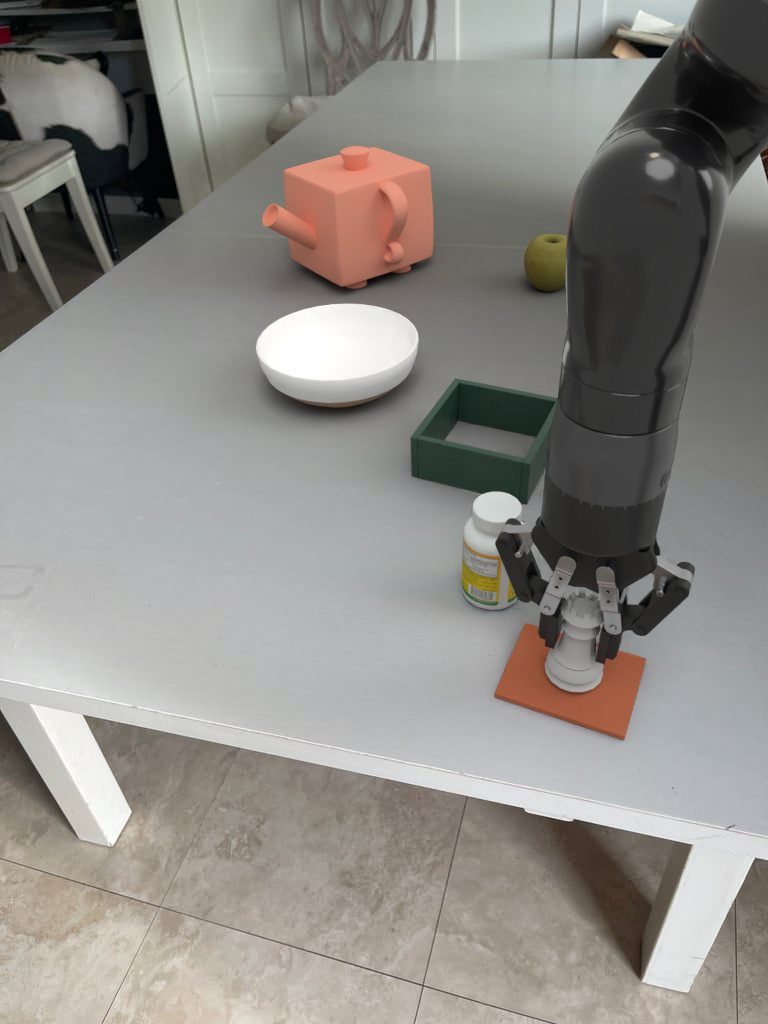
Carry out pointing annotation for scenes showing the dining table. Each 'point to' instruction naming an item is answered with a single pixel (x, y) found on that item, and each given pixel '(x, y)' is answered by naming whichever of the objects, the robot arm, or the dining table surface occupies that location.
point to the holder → (476, 464)
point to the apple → (546, 262)
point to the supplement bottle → (487, 551)
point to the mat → (590, 709)
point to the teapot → (356, 215)
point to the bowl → (338, 353)
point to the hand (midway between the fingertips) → (577, 646)
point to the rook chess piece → (577, 645)
